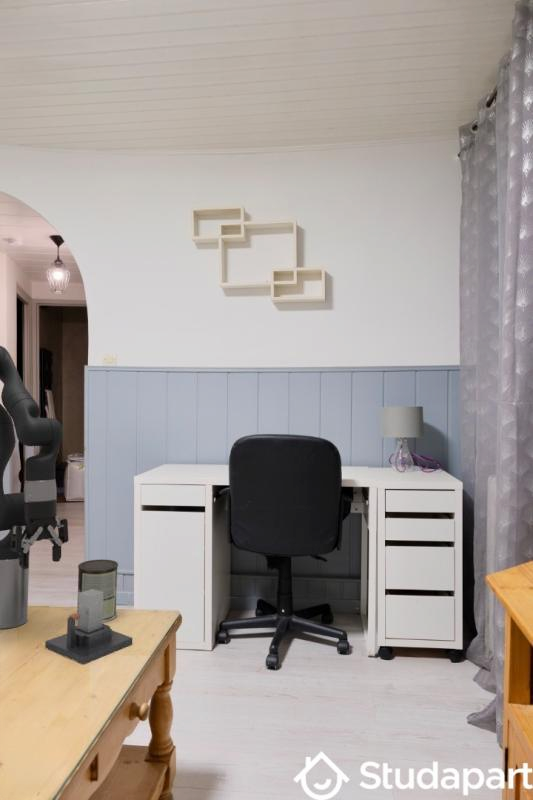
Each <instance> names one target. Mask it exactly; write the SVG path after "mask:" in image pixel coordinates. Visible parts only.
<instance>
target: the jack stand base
mask: <svg viewBox="0 0 533 800" xmlns="http://www.w3.org/2000/svg"><path fill="white" fill-rule="evenodd" d="M77 619H80V615H79V614H77V612H76V613H73V614H69V615H68V617H67V627H66V632H67V633H66V634H62V635H58V636H57V637H54V638H51V639H47V640H45V645H44V648H45V647H46V648H45V649H47V648H48V650H50V651H51V652H52V651H53V652H54V653H56V654H59V655H61V656H63V657H65V656H66V658H67V657H68V658H67V659H69V660H72V659H73V660H72V661H74V660H75V662H76V661H77V662H76V663H79V664H81V665H85V664H87V662H88V663H90V662H92V660H93V661H95V660H97V659H100V658H103V657H104V656H107V655H109V654H112V653H114V651H115V652H116V651H120V650H121V649H122V650H123V649H124V648H126V647H129V646H131V644H132V645H133V637H131V636H129V635H126V634H123V633H120V632H119V631H118V632H117V631H115V630H113V629H112V628H111V626H109V625H108V624H105V623H102V629H101V630H99V631H96V632H93V633H90V634H85V633H83V632H80V631H78V630H77V627H78V624H76V621H78V620H77Z"/></svg>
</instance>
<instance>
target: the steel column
mask: <svg viewBox="0 0 533 800" xmlns="http://www.w3.org/2000/svg"><path fill="white" fill-rule="evenodd" d="M77 606H78V614H79V615H80V619H78V620H77V625H78V627H77V630H78V631H80V632H83V633H85V634H90V633H93V632H96V631H99V630H101V629H102V624H103V623H102V621H103V592H101V591H98V590H95V589H91V590H87V591H84V592H80V593H79V597H78V596H77Z"/></svg>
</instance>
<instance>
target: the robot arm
mask: <svg viewBox="0 0 533 800" xmlns="http://www.w3.org/2000/svg"><path fill="white" fill-rule="evenodd" d="M0 381H1V383H2V384H3V386H2V390H1V395H0V398H1V399H0V400H1V403H2V404H1V403H0V532H4V531H8V533H7V535H6V536H4V537H3V538H2V539H1V540H0V630H1V629H11V628H16V627H19V626H22V625H23V624H25V623H27V621H28V610H29V609H28V606H29V583H30V582H29V580H30V578H29V577H30V575H29V574H30V554H31V553H30V552H31V551H30V550H31V547H32V546H33V545H34V544H35V542H40V541H42V540H49V541H50V542H51V544H52V545H53V546H51V547H52V548H51V549H52V551H51V552H52V553H51V554H52V556H51V559H52V561H53V562H55V563H56V562H60V561H61V559H62V546H63V545H64V544H65V543H68V542H69V540H70V539H69V529H68V527H69V525H68V519H67V518H62V517H61V518H60V517H59V518H58V519H57V518H56V516H57V515H58V514H57V511H58V508H57V507H58V505H57V503H58V502H57V499H58V498H57V495H58V494H57V481H56V462H57V458H58V454H59V451H60V446H61V442H62V439H63V427H62V425H61V423H60V421H59V420H58V419H56V418H53V417H40V415H41V407H40V406H39V404H38V403H37V402H36V400H35V399H34V397H33V396H32V395H31V394H30V391H28V389H27V388H26V386H25V384H24V382H23V380H22V378H21V376H20V374H19V370H18V369H17V366H16V365H15V363H14V360H13V358H12V356H11V354H10V352H9V351H8V350H7V349H6V348H5V347H4V346H2V345H0ZM16 437H17V440H18V442H20V443H21V445H24V446H26V447H40V450H39V452H38V453H37V454H35V455H31V456H29V457H27V458H26V459H25V462H24V480H25V481H24V487H23V491H22V492H21V491H20V492H13V493H12V492H11V493H5V491H4V475H5V474H4V473H5V470H6V469H7V466H8V463H9V461H10V459H11V457H12V456H13V453H14V451H15V448H16ZM56 528H57V532H58V533H57V532H56V531H55V530H56Z"/></svg>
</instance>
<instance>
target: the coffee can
mask: <svg viewBox="0 0 533 800" xmlns="http://www.w3.org/2000/svg"><path fill="white" fill-rule="evenodd" d="M118 568H119V563H118V562H117V561H115V560H111V559H90V560H86V561H82V562H81V563H79V564H78V565H77V570H78V576H77V577H78V579H77V598H78V597H79V593H80V592H84V591H87V590H91V589H95V590H98V591H101V592H103V621H102V624H105V623H108V622H110V621H113V620H114V619H115V618H116V617H117V597H118V595H117V592H118V591H117V590H118V589H117V588H118ZM76 614H78V605H77V611H76ZM76 621H78V619H77V620H76Z"/></svg>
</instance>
